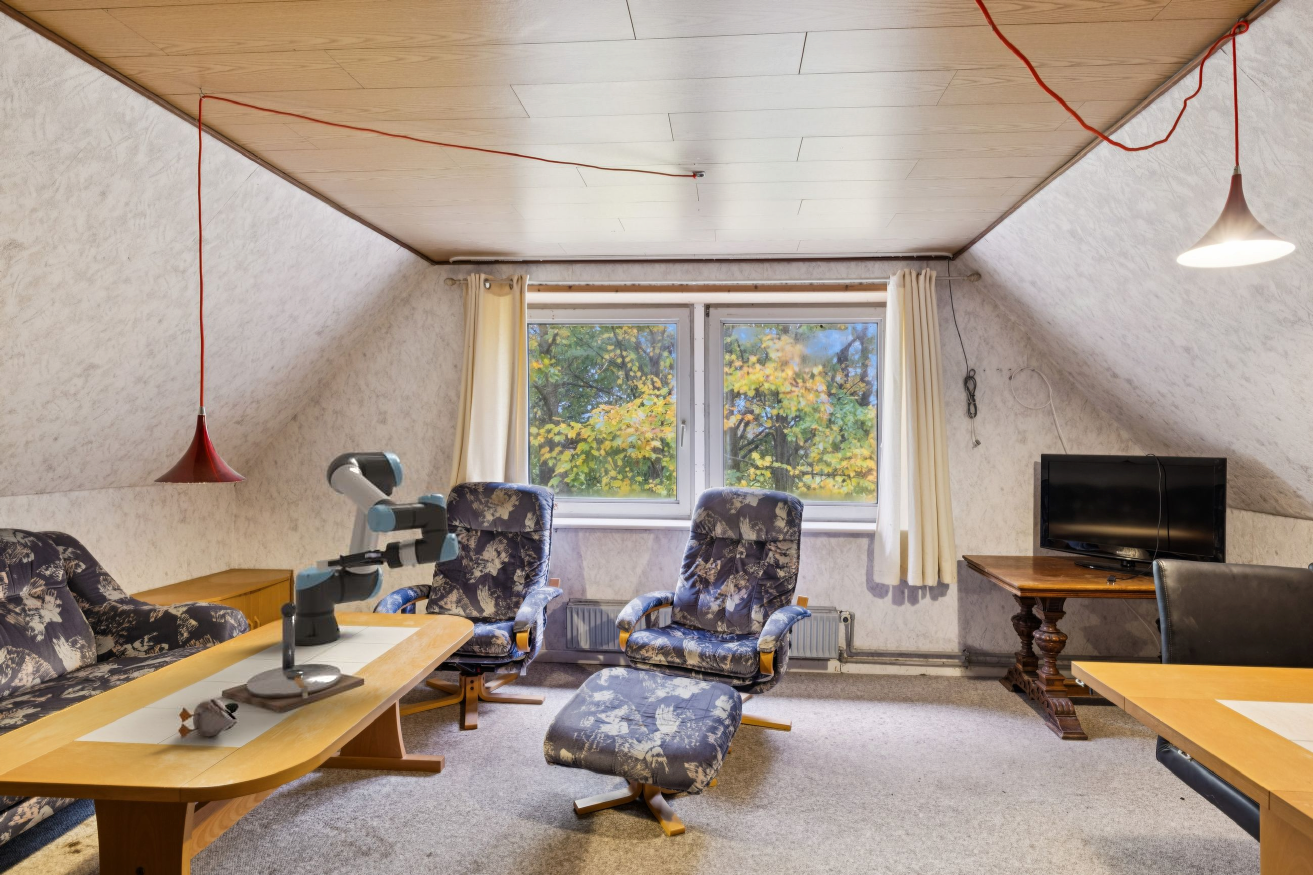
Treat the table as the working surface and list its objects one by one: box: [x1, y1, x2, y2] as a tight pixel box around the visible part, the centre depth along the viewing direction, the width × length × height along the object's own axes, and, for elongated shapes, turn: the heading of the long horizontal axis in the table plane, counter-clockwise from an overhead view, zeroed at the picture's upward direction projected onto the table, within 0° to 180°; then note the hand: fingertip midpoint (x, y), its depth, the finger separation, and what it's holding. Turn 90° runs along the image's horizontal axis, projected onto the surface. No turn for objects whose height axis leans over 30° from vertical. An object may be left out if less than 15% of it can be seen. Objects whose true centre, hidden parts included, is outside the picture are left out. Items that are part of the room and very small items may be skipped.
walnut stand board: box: [221, 673, 365, 714], centre depth 194 cm, size 24×24×4 cm
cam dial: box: [246, 601, 342, 698], centre depth 195 cm, size 23×22×19 cm
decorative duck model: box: [177, 698, 240, 740], centre depth 167 cm, size 15×8×15 cm
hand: (317, 566), depth 211 cm, fingers closed
